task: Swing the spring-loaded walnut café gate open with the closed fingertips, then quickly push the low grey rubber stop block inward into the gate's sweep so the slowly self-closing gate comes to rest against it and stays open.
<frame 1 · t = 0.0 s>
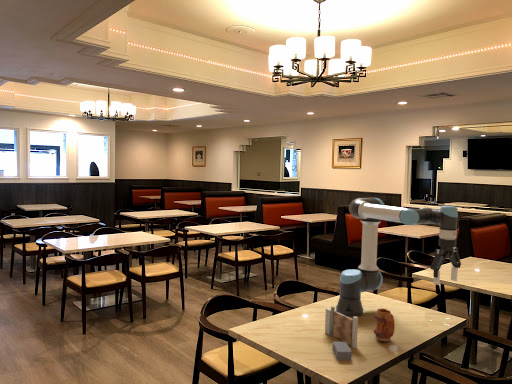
hand: (445, 282, 198), 28 cm above the table, fingers open, 13 cm apart
door: (344, 327, 195), point 6 cm above the table, hinge at 0.0°
stop block: (341, 355, 181), on the table
mug: (384, 342, 195), on the table
doorframe: (331, 335, 202), on the table
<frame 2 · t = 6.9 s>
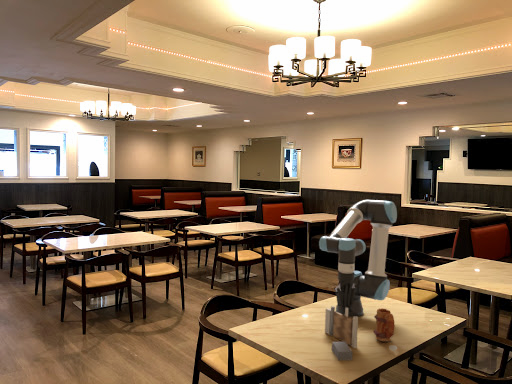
hand: (344, 320, 195), 9 cm above the table, fingers closed
door: (344, 327, 195), point 6 cm above the table, hinge at -1.5°, touching gripper
everything else where it was.
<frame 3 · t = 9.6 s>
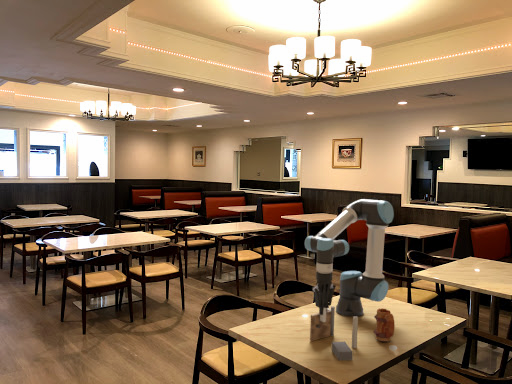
hand: (322, 321, 195), 9 cm above the table, fingers closed
door: (321, 326, 196), point 6 cm above the table, hinge at -87.1°, touching gripper
everything else where it was.
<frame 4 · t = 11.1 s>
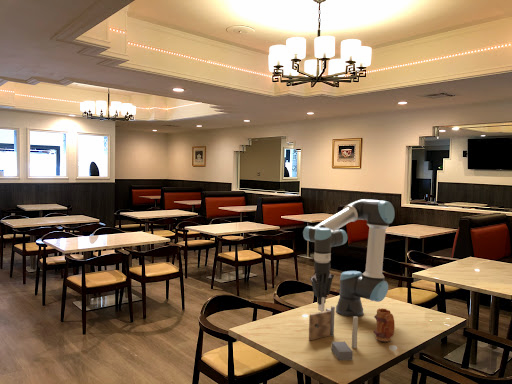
hand: (321, 310, 195), 14 cm above the table, fingers closed
door: (320, 325, 197), point 6 cm above the table, hinge at -91.3°
everything else where it was.
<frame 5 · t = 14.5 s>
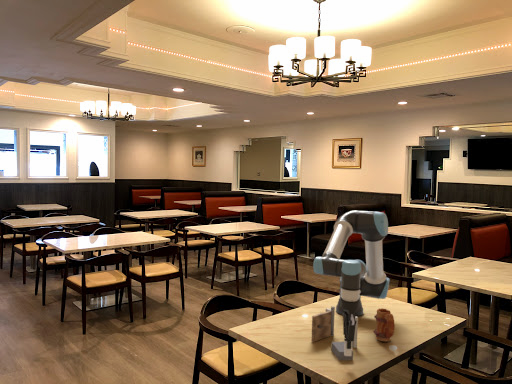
hand: (347, 355, 170), 5 cm above the table, fingers closed
door: (322, 326, 196), point 6 cm above the table, hinge at -82.7°
everything else where it was.
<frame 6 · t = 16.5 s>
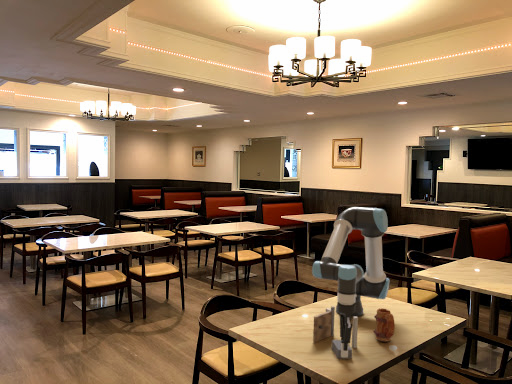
hand: (344, 356, 176), 1 cm above the table, fingers closed
door: (323, 326, 196), point 6 cm above the table, hinge at -78.3°
stop block: (341, 353, 182), on the table
everything else where it was.
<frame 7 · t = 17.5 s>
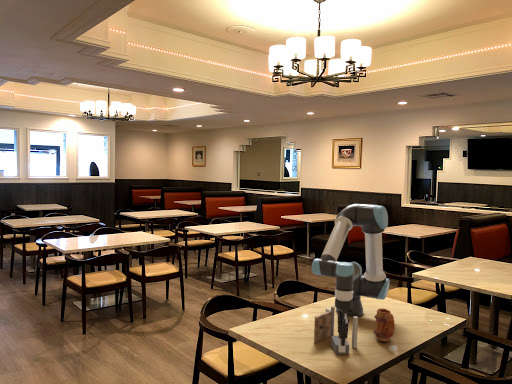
hand: (341, 351, 181), 1 cm above the table, fingers closed
door: (324, 326, 195), point 6 cm above the table, hinge at -76.2°
stop block: (339, 349, 186), on the table, touching gripper
everything else where it was.
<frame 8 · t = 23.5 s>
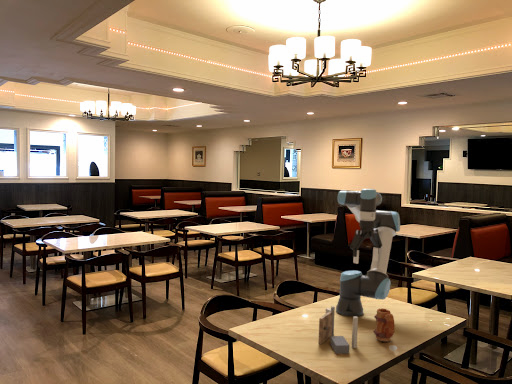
hand: (365, 261, 208), 35 cm above the table, fingers open, 13 cm apart
door: (327, 327, 195), point 6 cm above the table, hinge at -65.5°
stop block: (339, 349, 187), on the table
everything else where it was.
at the end: door at -65° (first picture: +0°); stop block inside the target area (1.9 cm from its centre), on the table; stop block tilted 0° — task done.
